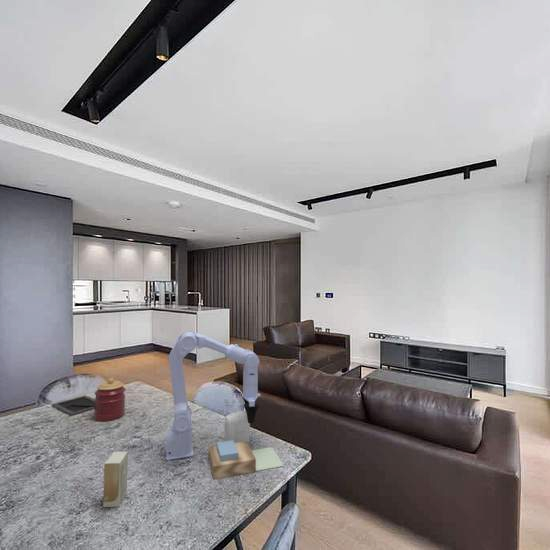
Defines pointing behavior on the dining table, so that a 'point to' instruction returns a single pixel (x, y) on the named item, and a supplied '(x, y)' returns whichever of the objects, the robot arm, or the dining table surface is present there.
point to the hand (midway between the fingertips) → (250, 418)
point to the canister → (109, 400)
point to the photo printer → (237, 427)
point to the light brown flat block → (232, 462)
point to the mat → (266, 459)
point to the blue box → (227, 451)
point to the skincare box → (115, 479)
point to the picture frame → (76, 405)
